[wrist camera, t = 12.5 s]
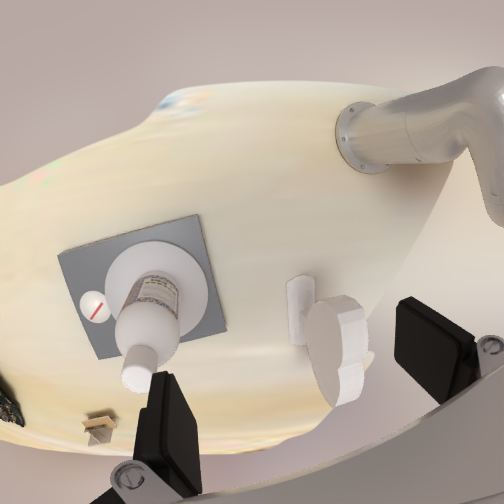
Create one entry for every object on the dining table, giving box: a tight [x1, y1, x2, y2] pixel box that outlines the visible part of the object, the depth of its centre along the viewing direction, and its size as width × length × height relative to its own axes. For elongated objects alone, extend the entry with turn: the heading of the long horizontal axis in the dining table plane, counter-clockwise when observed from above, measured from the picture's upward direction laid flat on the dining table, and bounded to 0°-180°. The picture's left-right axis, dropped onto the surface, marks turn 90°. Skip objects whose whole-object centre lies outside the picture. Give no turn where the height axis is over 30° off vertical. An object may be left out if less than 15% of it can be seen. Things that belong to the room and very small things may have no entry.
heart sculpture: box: [286, 275, 368, 407], centre depth 41 cm, size 16×5×18 cm, turn 6°
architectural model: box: [82, 416, 117, 446], centre depth 43 cm, size 3×7×7 cm, turn 109°
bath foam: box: [115, 271, 181, 393], centre depth 30 cm, size 7×7×20 cm
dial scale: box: [57, 214, 227, 360], centre depth 41 cm, size 22×18×4 cm
